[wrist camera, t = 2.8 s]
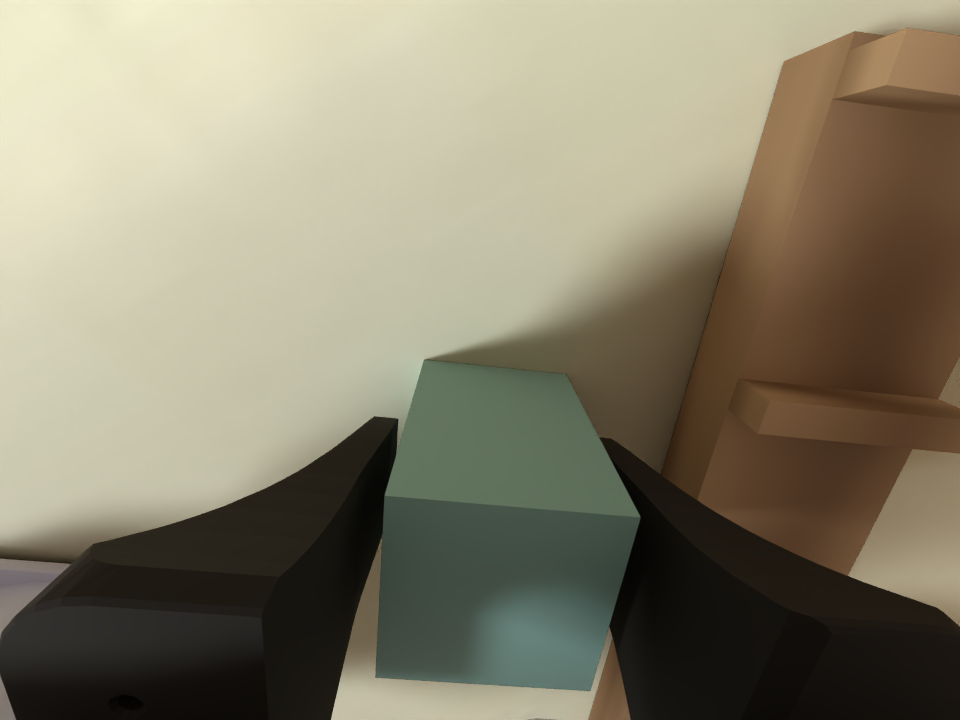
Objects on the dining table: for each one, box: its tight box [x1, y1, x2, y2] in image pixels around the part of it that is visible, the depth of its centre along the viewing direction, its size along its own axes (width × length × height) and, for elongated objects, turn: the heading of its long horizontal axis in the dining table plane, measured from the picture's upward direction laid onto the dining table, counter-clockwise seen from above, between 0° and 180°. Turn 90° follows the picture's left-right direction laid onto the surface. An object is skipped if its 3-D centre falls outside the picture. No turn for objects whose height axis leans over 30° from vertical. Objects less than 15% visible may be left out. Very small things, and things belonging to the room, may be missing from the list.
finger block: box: [375, 360, 641, 691], centre depth 11 cm, size 4×5×6 cm
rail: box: [589, 28, 960, 720], centre depth 11 cm, size 5×24×8 cm, turn 173°
